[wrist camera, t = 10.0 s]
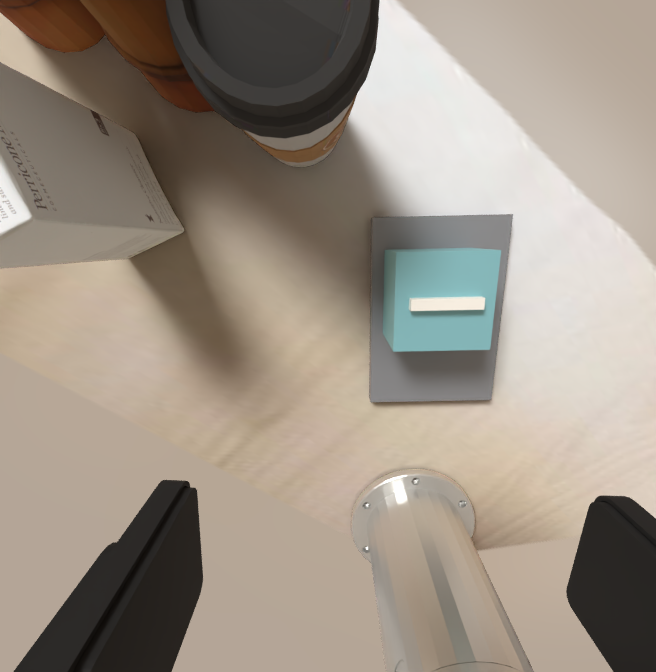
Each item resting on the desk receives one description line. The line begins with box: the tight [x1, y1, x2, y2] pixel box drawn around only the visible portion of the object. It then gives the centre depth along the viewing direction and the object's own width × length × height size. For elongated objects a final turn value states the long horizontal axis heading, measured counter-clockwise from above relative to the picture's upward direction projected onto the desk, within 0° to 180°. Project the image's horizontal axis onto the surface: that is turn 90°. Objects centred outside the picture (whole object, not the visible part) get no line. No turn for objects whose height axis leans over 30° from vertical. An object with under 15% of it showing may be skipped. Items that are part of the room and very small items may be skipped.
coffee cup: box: [166, 0, 379, 167], centre depth 19 cm, size 8×8×15 cm
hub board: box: [369, 214, 513, 402], centre depth 28 cm, size 16×11×5 cm
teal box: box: [383, 248, 501, 352], centre depth 26 cm, size 7×7×6 cm
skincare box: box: [0, 62, 184, 269], centre depth 21 cm, size 8×6×15 cm
